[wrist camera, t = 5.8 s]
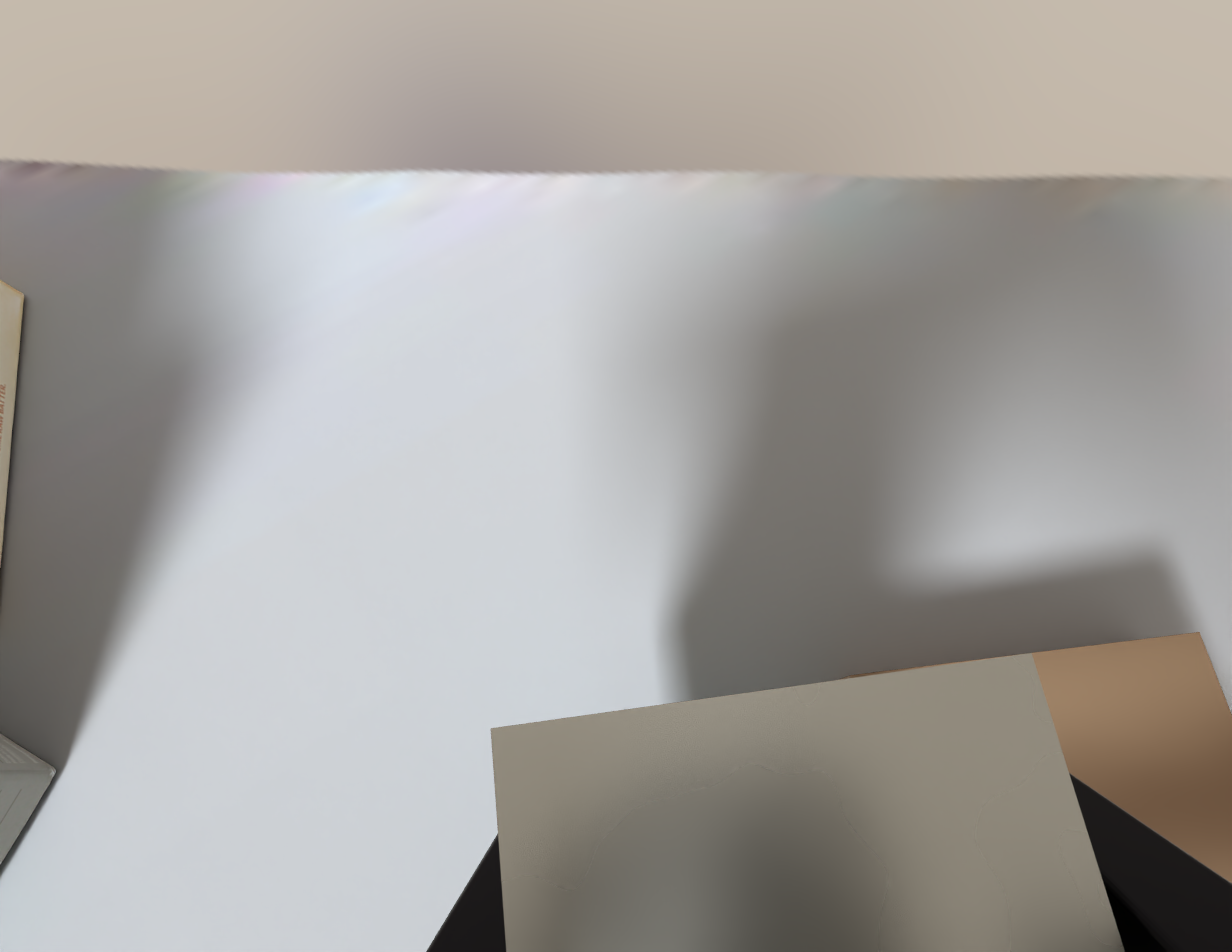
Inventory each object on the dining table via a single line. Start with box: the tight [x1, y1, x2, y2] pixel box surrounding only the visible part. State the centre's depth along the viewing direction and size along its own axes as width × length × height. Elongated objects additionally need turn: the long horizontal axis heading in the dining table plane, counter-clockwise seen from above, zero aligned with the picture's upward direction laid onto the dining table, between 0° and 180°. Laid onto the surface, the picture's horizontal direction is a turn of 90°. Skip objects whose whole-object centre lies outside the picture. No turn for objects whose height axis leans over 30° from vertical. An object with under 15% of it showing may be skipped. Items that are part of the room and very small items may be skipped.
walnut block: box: [839, 632, 1232, 883], centre depth 19 cm, size 9×9×3 cm
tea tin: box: [491, 653, 1125, 952], centre depth 12 cm, size 5×5×13 cm
